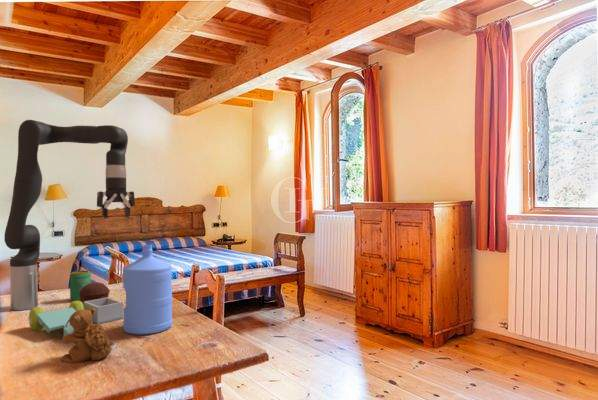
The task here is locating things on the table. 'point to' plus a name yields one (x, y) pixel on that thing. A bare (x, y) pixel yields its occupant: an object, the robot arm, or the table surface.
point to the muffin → (93, 292)
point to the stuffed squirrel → (86, 338)
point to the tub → (105, 310)
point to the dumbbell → (34, 311)
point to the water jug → (147, 295)
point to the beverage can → (78, 283)
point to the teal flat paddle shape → (57, 320)
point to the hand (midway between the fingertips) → (116, 217)
